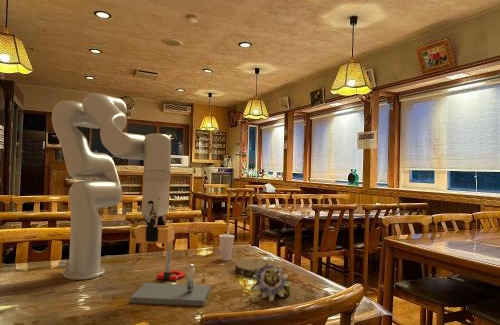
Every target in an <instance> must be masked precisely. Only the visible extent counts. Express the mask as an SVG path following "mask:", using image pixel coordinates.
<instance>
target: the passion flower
mask: <svg viewBox="0 0 500 325" xmlns="http://www.w3.org/2000/svg"><path fill="white" fill-rule="evenodd" d="M282 270H283V266H282V265H281V266H280V265H279V267H277V268H275V267H274V268H273V265H271V264H270V262H268V261H267V262H266V265H265V266H264V267H263V268H260V269H258V268H255V271H253V269H252V272H253V274H254V275H253V276H252V277H253V278H252V279H254V280H256V283H254V284H253V285H252V286H251V287H250V290H251V291H255V292H256V291H258V290H259V291H260V297H261V298H262V299H265V298H267V299H268V301H269V302H270V303H271V302H273V301H274V299H275V295H278V296H279V297H281V298H283V297H284V294H285V293H284V291H285V292H286V294H287V296H290V294H291V287H290V286H292V283H291V281H290V280H289V278H288V277H289V274H286V273H283V272H282ZM257 271H258V272H257ZM255 272H256V274H255Z"/></svg>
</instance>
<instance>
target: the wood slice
mask: <svg viewBox="0 0 500 325" xmlns="http://www.w3.org/2000/svg"><path fill="white" fill-rule="evenodd" d="M267 261H268V262H270V264H271V265H273V268H274V267H275V268H277V267H280V264H279V262H276V261H274V260H270V259H266V258H265V259H264V258H244V259H240V260H238V261H236V262H235V273H236V274H237V275H238V276H241V277H245V278H250V279H254V278H253V277H252V276H253V275H254V274H253V272H252V269H253V271H255V268H258V269H260V268H263V267H264V266H265V265H266V262H267ZM257 272H258V271H257ZM255 274H256V272H255Z"/></svg>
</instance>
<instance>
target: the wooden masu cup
mask: <svg viewBox="0 0 500 325" xmlns="http://www.w3.org/2000/svg"><path fill="white" fill-rule="evenodd" d="M157 227H158V241H157V242H146V224H143V225H141V226H139V227H136V231H135V233H136V234H135V243H136V244H161V245H162V244H166V245H168V243H169V242H172V241H174V240H175V225H157Z"/></svg>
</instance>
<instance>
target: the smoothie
mask: <svg viewBox="0 0 500 325" xmlns="http://www.w3.org/2000/svg"><path fill="white" fill-rule="evenodd" d="M218 239H219V246H220V256H221V257H220V259H221V260H222V261H225V262H226V261H227V262H228V261H230V260H232V252H233V247H234V239H235V235H233V234H230V225H229V224H228V225H227V234H226V233H224V234H219V236H218Z"/></svg>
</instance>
